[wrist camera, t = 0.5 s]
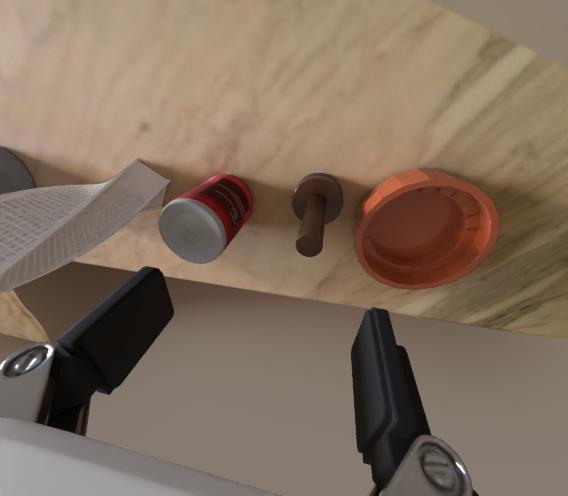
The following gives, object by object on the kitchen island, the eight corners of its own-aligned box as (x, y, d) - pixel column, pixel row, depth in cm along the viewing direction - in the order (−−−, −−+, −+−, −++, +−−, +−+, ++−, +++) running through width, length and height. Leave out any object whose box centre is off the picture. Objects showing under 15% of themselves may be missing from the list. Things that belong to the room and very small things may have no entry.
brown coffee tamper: (285, 190, 31) (259, 236, 20) (325, 162, 28) (319, 197, 17) (312, 225, 33) (300, 283, 22) (351, 202, 30) (360, 256, 19)
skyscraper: (181, 179, 33) (-178, 352, 10) (168, 216, 37) (-107, 401, 14) (131, 147, 32) (-407, 258, 9) (124, 189, 36) (-259, 341, 13)
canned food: (204, 215, 36) (159, 252, 27) (207, 165, 31) (154, 189, 22) (249, 230, 36) (220, 272, 26) (259, 182, 31) (227, 213, 22)
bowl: (333, 209, 31) (332, 225, 27) (449, 139, 24) (472, 146, 20) (382, 280, 36) (388, 303, 32) (490, 238, 29) (516, 260, 25)
